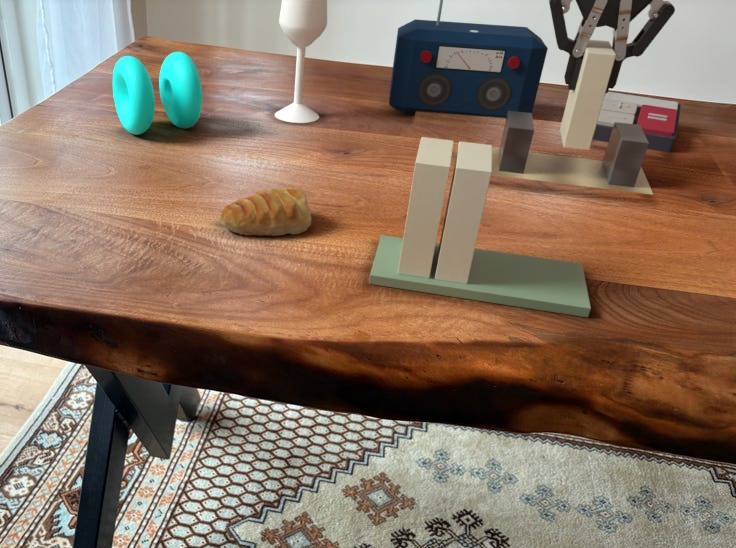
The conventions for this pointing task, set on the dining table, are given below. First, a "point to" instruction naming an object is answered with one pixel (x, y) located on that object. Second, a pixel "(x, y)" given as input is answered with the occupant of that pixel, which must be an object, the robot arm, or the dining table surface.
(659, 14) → the robot arm
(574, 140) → the cream book
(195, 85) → the donuts
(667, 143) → the calculator
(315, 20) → the champagne flute
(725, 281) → the dining table surface
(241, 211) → the pastry
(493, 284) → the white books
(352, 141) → the dining table surface
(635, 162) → the grey bookends
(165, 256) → the dining table surface
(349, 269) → the dining table surface
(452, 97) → the radio
